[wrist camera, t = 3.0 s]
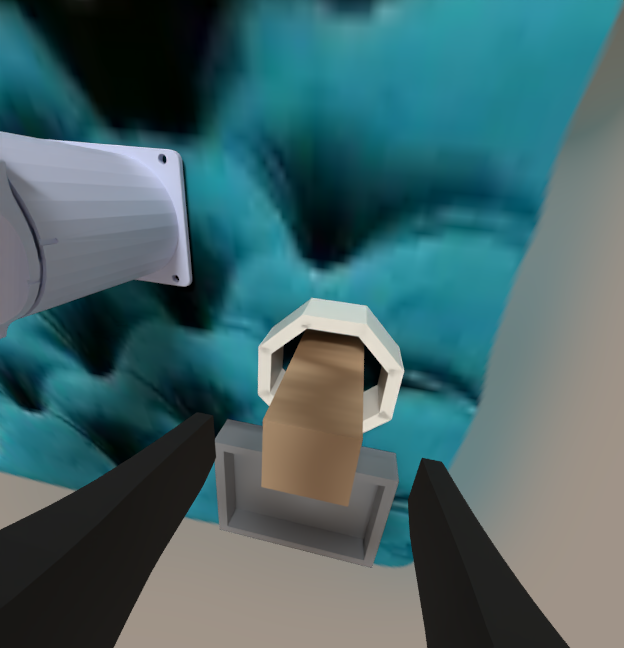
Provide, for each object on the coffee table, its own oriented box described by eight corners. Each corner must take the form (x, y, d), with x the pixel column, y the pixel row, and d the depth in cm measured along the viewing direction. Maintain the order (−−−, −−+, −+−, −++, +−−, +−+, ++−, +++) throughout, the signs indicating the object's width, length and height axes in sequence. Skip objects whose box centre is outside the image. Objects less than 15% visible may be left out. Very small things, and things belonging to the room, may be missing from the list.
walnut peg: (301, 377, 21) (261, 486, 13) (305, 328, 20) (262, 420, 12) (355, 386, 21) (348, 506, 13) (364, 338, 19) (362, 439, 11)
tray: (231, 503, 29) (219, 529, 27) (227, 419, 24) (213, 441, 22) (371, 537, 27) (371, 568, 25) (395, 453, 23) (398, 481, 20)
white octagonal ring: (270, 396, 22) (257, 423, 20) (274, 292, 19) (258, 307, 16) (381, 417, 21) (383, 449, 19) (407, 311, 18) (414, 331, 15)
